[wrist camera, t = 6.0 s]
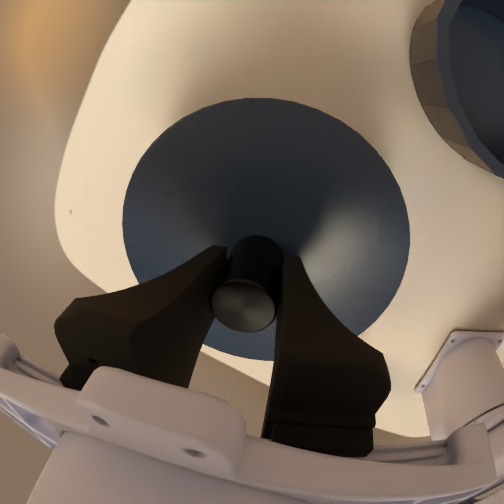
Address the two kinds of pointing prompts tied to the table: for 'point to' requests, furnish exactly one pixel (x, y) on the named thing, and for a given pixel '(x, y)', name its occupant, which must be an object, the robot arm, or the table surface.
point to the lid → (269, 215)
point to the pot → (463, 76)
